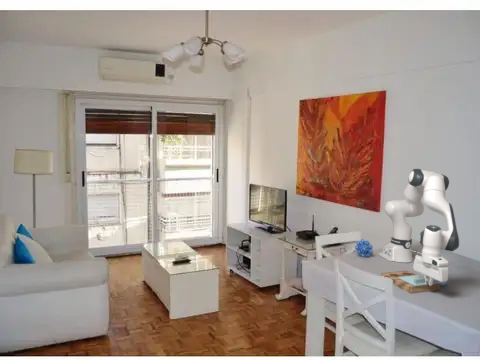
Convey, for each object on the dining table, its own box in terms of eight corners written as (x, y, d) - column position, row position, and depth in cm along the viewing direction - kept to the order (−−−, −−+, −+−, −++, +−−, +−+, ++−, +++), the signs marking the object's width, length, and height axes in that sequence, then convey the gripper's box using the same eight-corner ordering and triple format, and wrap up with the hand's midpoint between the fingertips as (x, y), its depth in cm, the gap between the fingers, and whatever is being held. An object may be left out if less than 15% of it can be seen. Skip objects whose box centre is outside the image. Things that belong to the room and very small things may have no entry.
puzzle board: (380, 278, 245) (381, 272, 245) (406, 275, 252) (407, 270, 251) (411, 293, 223) (411, 287, 223) (439, 290, 229) (439, 284, 229)
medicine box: (434, 286, 235) (435, 270, 234) (428, 283, 239) (430, 268, 238) (447, 285, 237) (448, 270, 236) (441, 282, 241) (442, 267, 240)
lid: (398, 278, 236) (398, 273, 236) (417, 276, 240) (417, 271, 240) (415, 286, 224) (415, 280, 224) (434, 284, 229) (434, 278, 228)
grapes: (355, 258, 283) (356, 240, 282) (353, 255, 290) (354, 237, 289) (373, 259, 283) (375, 241, 281) (371, 256, 289) (372, 238, 288)
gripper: (411, 252, 231) (409, 278, 232) (441, 264, 212) (439, 292, 213) (420, 252, 233) (418, 277, 235) (451, 263, 214) (449, 290, 216)
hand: (428, 284), depth 224 cm, fingers closed
